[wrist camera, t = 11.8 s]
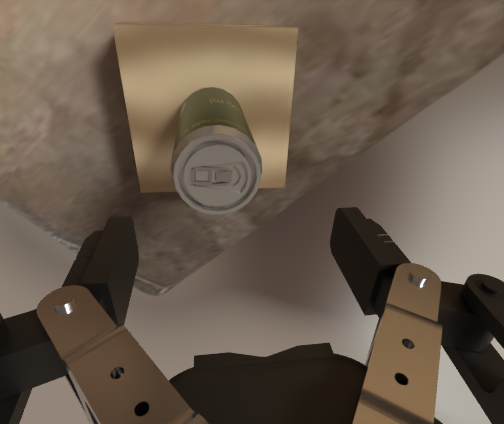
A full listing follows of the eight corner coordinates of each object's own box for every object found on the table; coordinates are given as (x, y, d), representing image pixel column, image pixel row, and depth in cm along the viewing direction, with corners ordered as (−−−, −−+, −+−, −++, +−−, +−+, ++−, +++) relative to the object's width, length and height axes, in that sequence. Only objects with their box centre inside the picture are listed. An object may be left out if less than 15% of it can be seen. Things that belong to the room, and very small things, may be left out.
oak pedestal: (122, 22, 28) (112, 24, 24) (286, 26, 29) (298, 28, 26) (146, 175, 35) (140, 192, 32) (276, 170, 37) (284, 187, 33)
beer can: (180, 145, 30) (170, 217, 20) (179, 82, 27) (167, 128, 17) (240, 148, 31) (260, 218, 20) (245, 87, 28) (270, 133, 18)
